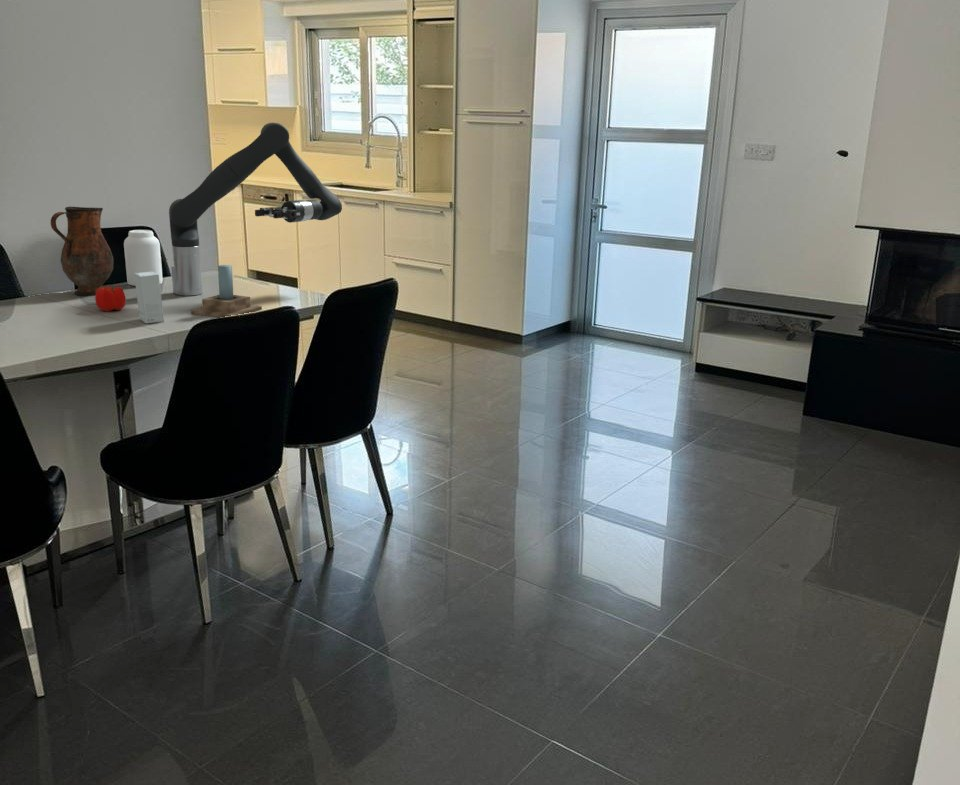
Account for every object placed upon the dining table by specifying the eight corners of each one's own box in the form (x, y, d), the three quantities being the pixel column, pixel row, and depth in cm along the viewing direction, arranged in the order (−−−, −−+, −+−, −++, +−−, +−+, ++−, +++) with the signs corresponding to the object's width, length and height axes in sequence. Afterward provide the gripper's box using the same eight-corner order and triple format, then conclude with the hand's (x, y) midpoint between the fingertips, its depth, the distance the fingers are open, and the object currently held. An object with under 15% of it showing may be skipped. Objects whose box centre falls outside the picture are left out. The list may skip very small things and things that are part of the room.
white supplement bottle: (141, 288, 315) (136, 233, 309) (120, 284, 322) (115, 230, 315) (169, 283, 325) (165, 230, 319) (149, 279, 332) (144, 227, 326)
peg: (217, 308, 281) (215, 266, 276) (225, 306, 285) (223, 264, 280) (228, 310, 279) (226, 267, 275) (236, 307, 283) (234, 265, 279)
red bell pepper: (90, 311, 277) (88, 288, 274) (111, 306, 285) (109, 283, 282) (113, 314, 273) (111, 291, 271) (133, 309, 281) (131, 286, 279)
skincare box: (164, 322, 265) (160, 274, 260) (144, 324, 262) (139, 275, 257) (157, 316, 272) (153, 270, 267) (137, 318, 268) (133, 271, 264)
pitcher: (127, 291, 308) (119, 207, 299) (78, 301, 289) (68, 211, 280) (93, 286, 314) (84, 203, 305) (43, 296, 296) (32, 208, 287)
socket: (191, 313, 278) (190, 299, 276) (222, 304, 292) (221, 291, 291) (232, 318, 272) (231, 304, 271) (261, 309, 287) (261, 296, 285)
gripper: (282, 198, 307) (249, 201, 294) (312, 201, 300) (279, 204, 287) (283, 220, 309) (250, 223, 296) (313, 223, 302) (280, 227, 289)
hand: (264, 214), depth 291 cm, fingers open, 8 cm apart
